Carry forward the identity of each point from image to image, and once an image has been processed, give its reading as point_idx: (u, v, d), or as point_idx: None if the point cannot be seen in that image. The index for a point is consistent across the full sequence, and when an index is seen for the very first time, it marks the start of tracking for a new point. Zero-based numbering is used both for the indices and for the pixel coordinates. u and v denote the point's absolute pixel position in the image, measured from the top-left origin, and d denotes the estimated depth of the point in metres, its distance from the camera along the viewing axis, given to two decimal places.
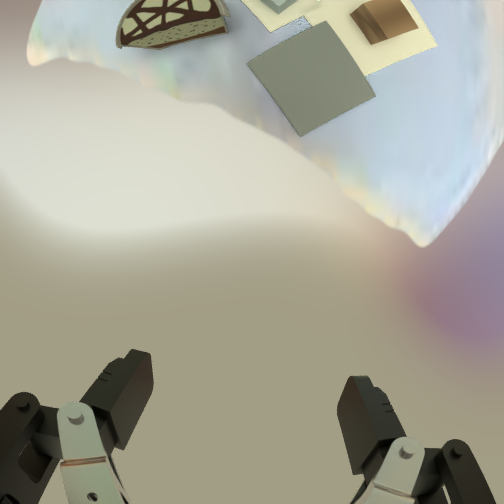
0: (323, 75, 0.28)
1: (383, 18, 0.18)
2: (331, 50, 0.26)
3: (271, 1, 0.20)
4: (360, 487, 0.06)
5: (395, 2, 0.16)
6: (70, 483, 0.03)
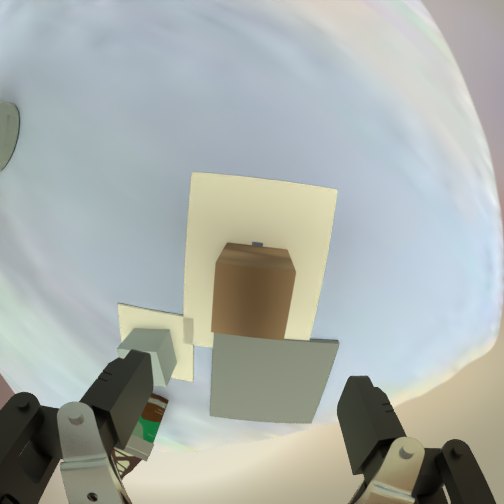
0: (275, 379, 0.26)
1: (249, 323, 0.18)
2: (253, 354, 0.25)
3: None
4: (360, 487, 0.06)
5: (232, 278, 0.17)
6: (70, 483, 0.03)
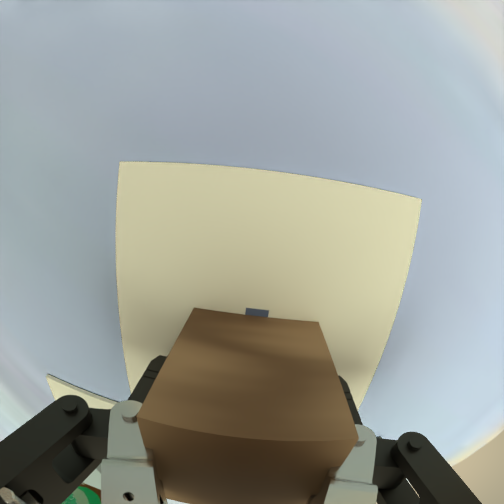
0: None
1: (235, 501, 0.06)
2: None
3: None
4: None
5: (186, 450, 0.05)
6: (108, 479, 0.03)
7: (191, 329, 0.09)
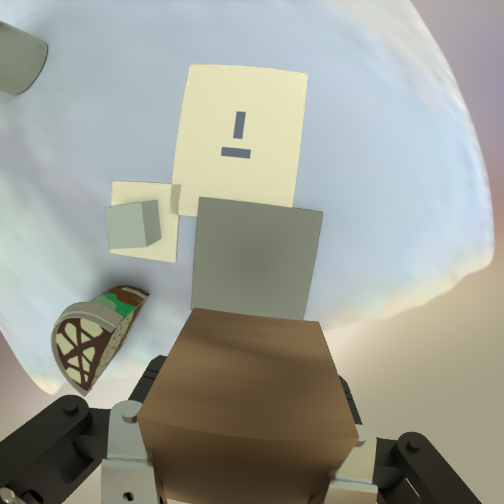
0: (259, 254, 0.27)
1: (235, 500, 0.06)
2: (237, 221, 0.26)
3: None
4: None
5: (186, 449, 0.05)
6: (108, 479, 0.03)
7: (191, 329, 0.09)
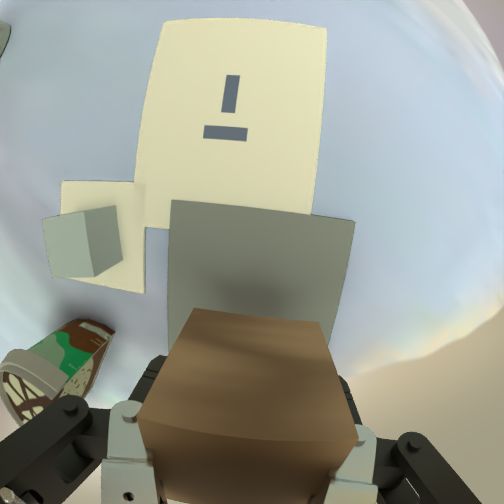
0: (261, 283, 0.18)
1: (235, 500, 0.06)
2: (228, 236, 0.17)
3: None
4: None
5: (186, 450, 0.05)
6: (108, 479, 0.03)
7: (191, 329, 0.09)
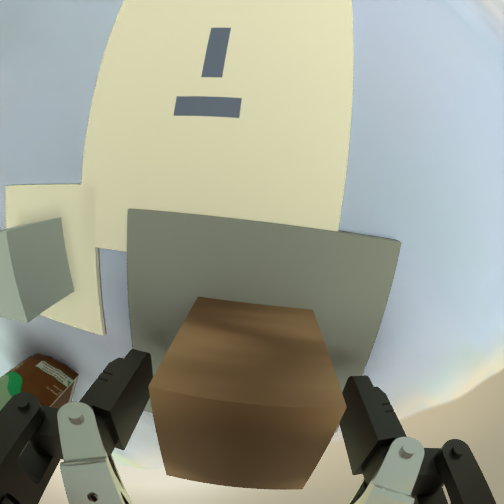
0: None
1: (236, 475, 0.07)
2: (211, 264, 0.11)
3: None
4: (360, 487, 0.06)
5: (192, 418, 0.06)
6: (70, 483, 0.03)
7: (196, 314, 0.10)
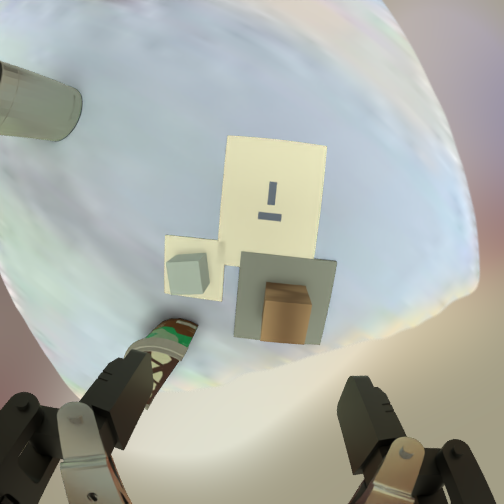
0: None
1: (283, 335, 0.29)
2: (271, 270, 0.34)
3: None
4: (360, 487, 0.06)
5: (274, 309, 0.29)
6: (70, 483, 0.03)
7: (268, 286, 0.33)
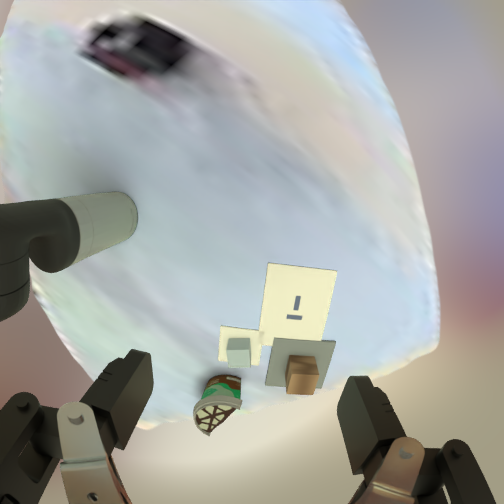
0: None
1: (301, 390, 0.45)
2: (293, 348, 0.49)
3: None
4: (360, 487, 0.06)
5: (297, 378, 0.44)
6: (70, 483, 0.03)
7: (291, 359, 0.48)
